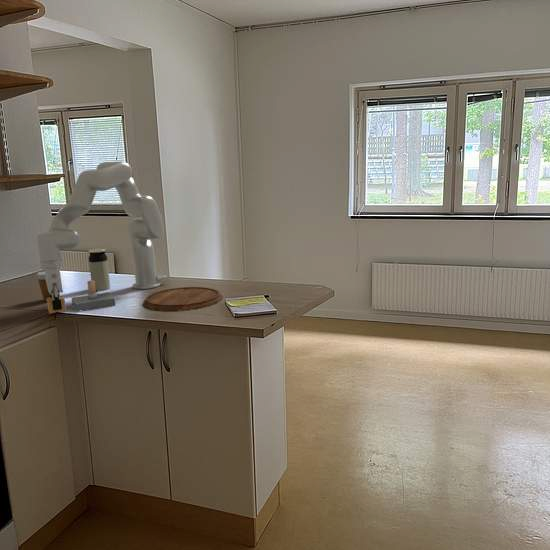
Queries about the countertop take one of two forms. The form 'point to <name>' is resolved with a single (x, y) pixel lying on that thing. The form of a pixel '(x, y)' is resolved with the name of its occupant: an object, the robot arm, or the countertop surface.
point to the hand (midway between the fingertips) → (56, 307)
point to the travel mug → (99, 269)
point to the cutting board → (182, 298)
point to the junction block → (93, 299)
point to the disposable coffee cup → (43, 285)
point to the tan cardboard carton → (50, 306)
